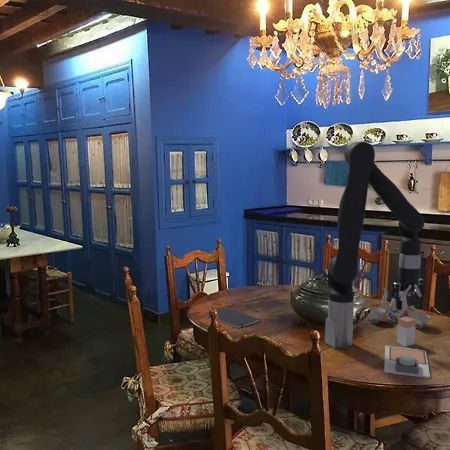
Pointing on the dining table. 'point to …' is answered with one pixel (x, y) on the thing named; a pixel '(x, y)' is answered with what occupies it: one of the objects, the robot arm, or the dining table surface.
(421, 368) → the picture board
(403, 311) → the chinaware
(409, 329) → the white and pink block
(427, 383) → the dining table surface
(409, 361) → the button
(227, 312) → the notebook
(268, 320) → the dining table surface
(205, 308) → the dining table surface
